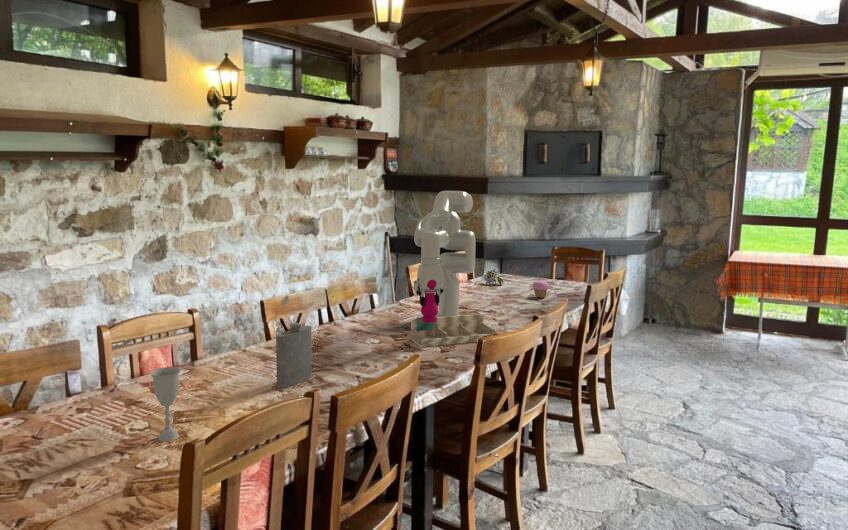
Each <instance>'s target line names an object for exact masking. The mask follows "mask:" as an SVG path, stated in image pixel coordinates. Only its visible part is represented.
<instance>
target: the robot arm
mask: <svg viewBox="0 0 848 530" xmlns="http://www.w3.org/2000/svg"><path fill="white" fill-rule="evenodd" d="M473 207H474V198H473V197H472V195H471V194H470V193H468V192H467V191H463V190H442V191H440V192H438V193H437V194H436V196H435V199H434V204H433V208H432V211H431V212H429V213H428V214H427V215H424V216H423V217H422V218H421V219H420V220H419V221H418V223H417V225H416V229H415V232H414V234H413V235H414V237H413V241H414V243H415V245H416V246H417V247H420V248H421V250H420V252H421V254H420V255H421V256H420V264H418V268H417V275H416V282H415V284H413V286H412V288H411V289H412V290H413V291H414V292H415V293H416V294H417V296H419V304H420V306H421V307H422V306H423V307H424V306H425V290H428V289H429V288H428V287H427V283H428V281H430V280H435V281H436V283H437V285H436V287H435V288H434V289H436V292H435V301H436V304H437V306H438V314H437V315H436V317H448V316H461V315H462V314H461V313H459V311H460V280H459V278H458V276H457V275H456V274H467V275H468V274H472V273H473V272H474V271H475V269H476V246H477V245H476V235H475V233H474V232H473V231H471V230H466V229H463V230H462V229H461V217H460V216H459V215H458V213H470V212H471V211H472V209H473ZM438 227H441V229H434V228H438ZM441 248H442V249H445V250H448V251H450V250H451V251H463V252H465V253H462V252H461V253H460V252H444V253H441ZM440 253H441V254H440Z"/></svg>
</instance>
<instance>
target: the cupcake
mask: <svg viewBox="0 0 848 530" xmlns="http://www.w3.org/2000/svg"><path fill="white" fill-rule="evenodd" d="M549 288H550V285H549V283H548V282H547V281H546V280H542V279H541V280H536V281H534V282H533V284H532V289H533V290H534V296H535V297H536V298H540V299H543V297H544V298H546V297H547V290H548V289H549Z"/></svg>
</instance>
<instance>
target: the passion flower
mask: <svg viewBox="0 0 848 530" xmlns="http://www.w3.org/2000/svg"><path fill="white" fill-rule="evenodd" d="M500 273H501V272H500V271H496V268H493V269H492V270H488V271H487V272H486V273H485V274H484V275H483V277H482V278H481V279H482V280H484V281H485V284H487V286H490V285H491V284H494V283H495V284H496V283H497V282H498V285H499V286H502V284H504V279H505V276H504V275H500ZM501 277H502V278H503V279H502V278H501Z"/></svg>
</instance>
